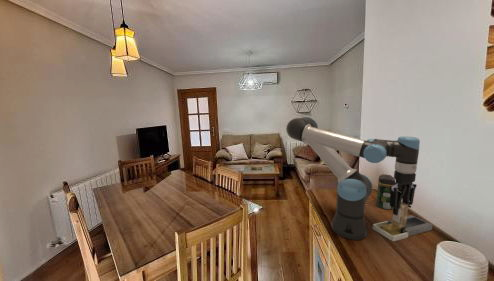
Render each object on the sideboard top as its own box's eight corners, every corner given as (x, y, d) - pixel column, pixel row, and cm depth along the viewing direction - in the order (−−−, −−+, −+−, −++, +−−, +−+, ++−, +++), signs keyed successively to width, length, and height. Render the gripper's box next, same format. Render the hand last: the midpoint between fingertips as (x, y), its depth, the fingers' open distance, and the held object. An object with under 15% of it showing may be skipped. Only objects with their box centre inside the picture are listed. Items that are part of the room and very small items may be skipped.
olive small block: (395, 235, 90) (395, 229, 90) (386, 230, 94) (387, 224, 94) (400, 234, 91) (400, 228, 91) (391, 229, 95) (392, 223, 95)
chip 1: (390, 236, 90) (390, 230, 89) (381, 231, 93) (382, 225, 93) (395, 235, 90) (395, 229, 90) (386, 230, 94) (387, 224, 94)
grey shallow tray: (406, 237, 89) (407, 231, 89) (387, 226, 98) (387, 220, 97) (431, 230, 94) (432, 224, 93) (411, 220, 102) (411, 215, 102)
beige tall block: (399, 232, 92) (402, 206, 89) (391, 228, 95) (394, 202, 93) (405, 231, 93) (408, 204, 90) (397, 226, 96) (400, 201, 94)
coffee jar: (375, 201, 123) (378, 172, 120) (391, 204, 120) (394, 174, 117) (376, 208, 115) (379, 177, 112) (393, 211, 111) (397, 179, 108)
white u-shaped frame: (392, 242, 86) (393, 237, 86) (372, 229, 96) (372, 224, 95) (407, 238, 89) (408, 233, 88) (386, 225, 98) (386, 221, 98)
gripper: (399, 176, 83) (393, 227, 87) (427, 172, 88) (421, 221, 92) (382, 170, 90) (378, 218, 94) (409, 167, 95) (404, 213, 99)
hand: (399, 219), depth 93 cm, fingers closed on beige tall block, 4 cm apart
